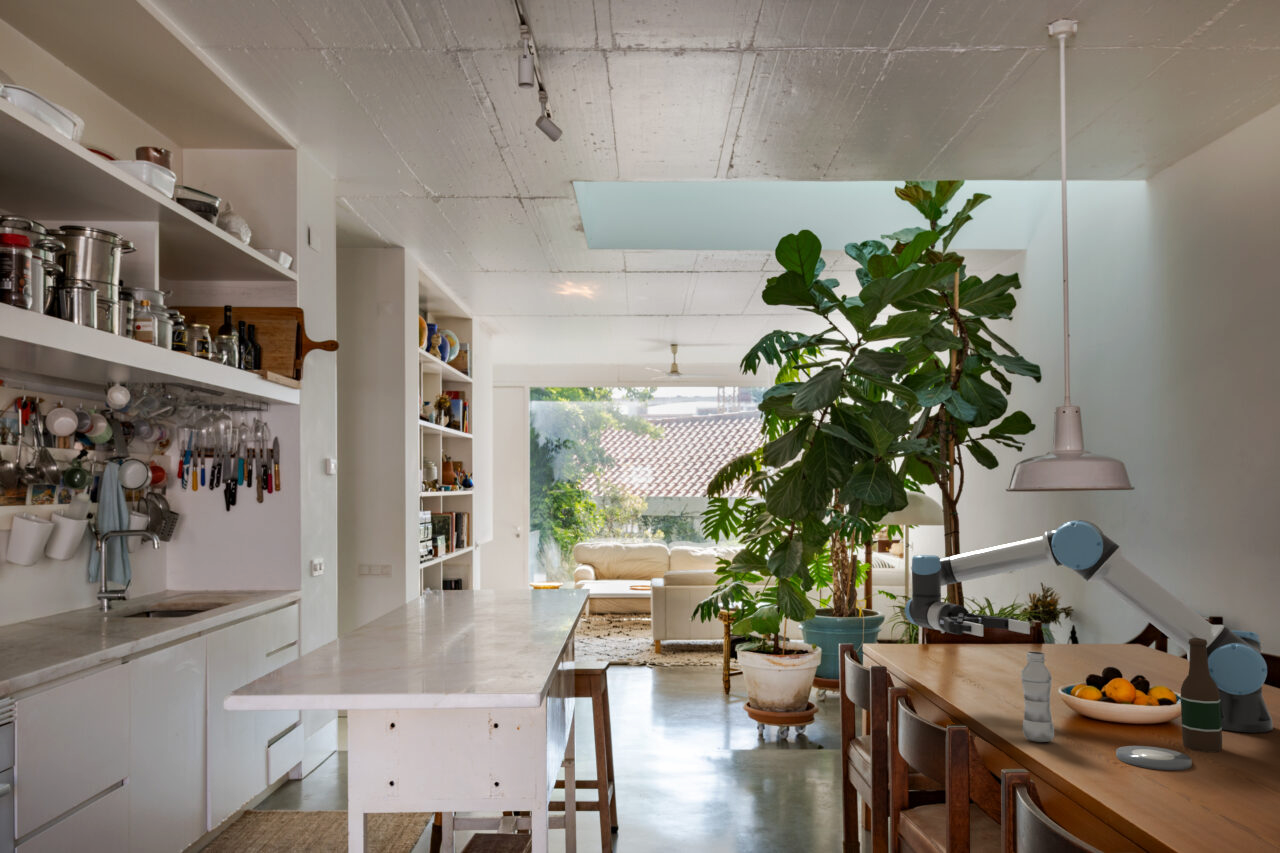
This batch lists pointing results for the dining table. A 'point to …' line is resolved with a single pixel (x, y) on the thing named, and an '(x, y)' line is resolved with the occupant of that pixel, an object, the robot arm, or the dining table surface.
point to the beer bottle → (1200, 703)
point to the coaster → (1153, 758)
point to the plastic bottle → (1037, 699)
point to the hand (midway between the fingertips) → (1005, 629)
